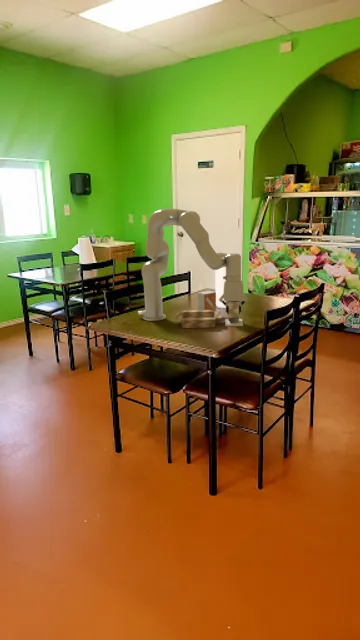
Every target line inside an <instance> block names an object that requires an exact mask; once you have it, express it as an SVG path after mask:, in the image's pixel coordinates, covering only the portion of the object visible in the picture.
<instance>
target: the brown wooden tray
mask: <svg viewBox="0 0 360 640" xmlns="http://www.w3.org/2000/svg"><path fill="white" fill-rule="evenodd" d="M174 319H175V320H180V324H181V329H185V328H186V329H188V328H189V329H190V328H198V327H199V328H200V329H202V328H216V320H217V319H222V311H221V310H218V311H217V310H216V311H215V310H198V309H196V310H195V309H194V310H193V309H191V310H190V309H188V310H187V309H185V310H182V311H176V315H175V318H174ZM199 328H198V329H199Z"/></svg>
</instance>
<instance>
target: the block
mask: <svg viewBox="0 0 360 640" xmlns="http://www.w3.org/2000/svg"><path fill="white" fill-rule="evenodd" d="M228 306H229V314H227V315H228V318H227V319H229V321H239V319H240V317H239V316H240V314H239V301H229V303H228Z"/></svg>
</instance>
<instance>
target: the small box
mask: <svg viewBox="0 0 360 640" xmlns="http://www.w3.org/2000/svg"><path fill="white" fill-rule="evenodd" d="M216 300H217V295H216V291H213V290H207V291H200V292H197V310H215V311H217V302H216Z"/></svg>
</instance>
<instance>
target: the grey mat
mask: <svg viewBox="0 0 360 640" xmlns="http://www.w3.org/2000/svg"><path fill="white" fill-rule="evenodd" d="M224 326H225V327H243V326H244V322H243V319H242V318H239V321H229V318H225V319H224Z"/></svg>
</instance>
